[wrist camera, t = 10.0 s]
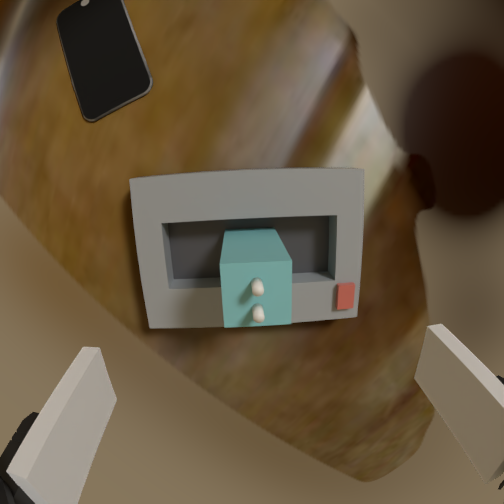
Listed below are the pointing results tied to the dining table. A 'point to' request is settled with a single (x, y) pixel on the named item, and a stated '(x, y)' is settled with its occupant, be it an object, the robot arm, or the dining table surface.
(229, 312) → the block
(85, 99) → the smartphone
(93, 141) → the dining table surface
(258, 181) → the grey slotted tray
